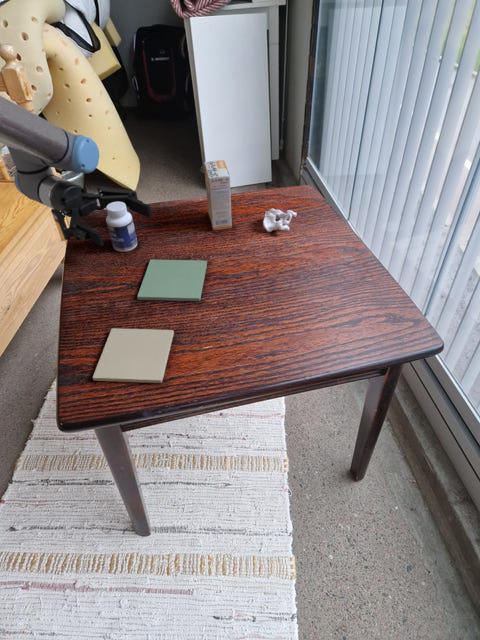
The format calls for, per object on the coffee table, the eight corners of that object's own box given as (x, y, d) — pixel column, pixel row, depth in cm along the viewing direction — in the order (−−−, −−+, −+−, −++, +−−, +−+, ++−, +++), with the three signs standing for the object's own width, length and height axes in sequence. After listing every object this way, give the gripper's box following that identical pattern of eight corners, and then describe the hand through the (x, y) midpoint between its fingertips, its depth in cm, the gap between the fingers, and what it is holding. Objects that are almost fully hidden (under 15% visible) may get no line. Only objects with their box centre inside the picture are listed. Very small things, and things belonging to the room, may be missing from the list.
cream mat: (93, 380, 66) (92, 377, 66) (112, 331, 74) (111, 328, 74) (162, 383, 66) (161, 380, 65) (174, 333, 74) (173, 329, 73)
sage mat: (137, 299, 80) (136, 296, 80) (150, 262, 89) (150, 259, 88) (200, 301, 80) (199, 298, 79) (207, 263, 88) (207, 260, 88)
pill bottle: (109, 251, 92) (97, 211, 85) (119, 237, 96) (109, 198, 89) (131, 254, 91) (122, 213, 84) (141, 240, 95) (133, 201, 88)
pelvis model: (289, 223, 92) (260, 216, 93) (286, 239, 95) (258, 232, 96) (298, 205, 97) (271, 199, 99) (295, 221, 100) (269, 214, 102)
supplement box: (207, 213, 103) (202, 161, 94) (226, 211, 104) (224, 159, 94) (212, 231, 97) (208, 177, 88) (232, 228, 98) (230, 175, 89)
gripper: (110, 191, 108) (170, 216, 98) (23, 234, 94) (83, 268, 84) (102, 162, 102) (165, 185, 93) (9, 204, 88) (72, 236, 79)
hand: (126, 225), depth 89 cm, fingers open, 13 cm apart
